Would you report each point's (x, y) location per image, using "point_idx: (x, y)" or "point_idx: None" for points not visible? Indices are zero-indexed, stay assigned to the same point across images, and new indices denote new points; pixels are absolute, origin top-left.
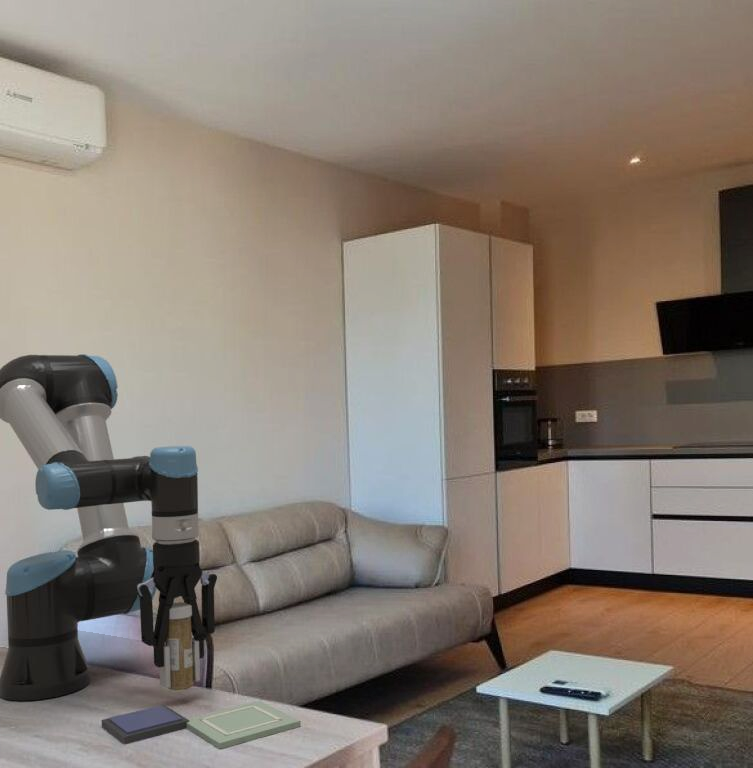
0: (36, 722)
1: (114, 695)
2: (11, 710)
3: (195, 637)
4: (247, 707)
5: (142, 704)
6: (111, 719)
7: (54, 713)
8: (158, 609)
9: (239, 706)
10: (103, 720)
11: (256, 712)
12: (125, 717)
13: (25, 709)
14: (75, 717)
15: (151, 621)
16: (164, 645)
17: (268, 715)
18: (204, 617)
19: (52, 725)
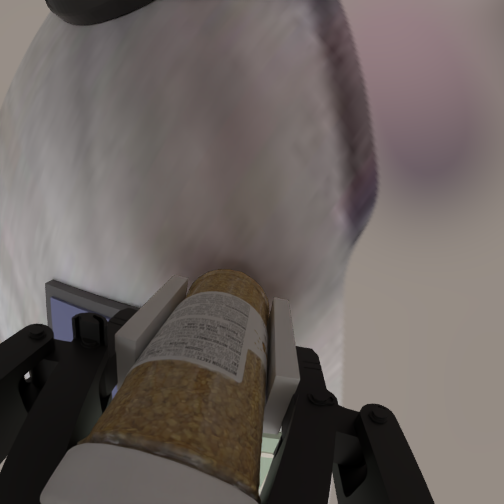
0: (10, 150)
1: (161, 89)
2: (29, 52)
3: (286, 417)
4: (267, 455)
5: (159, 221)
6: (52, 310)
7: (39, 120)
8: (7, 468)
9: (267, 441)
10: (46, 290)
11: (262, 470)
12: (71, 325)
13: (37, 60)
14: (44, 179)
15: (4, 446)
16: (128, 369)
17: (260, 486)
18: (359, 488)
19: (14, 190)
